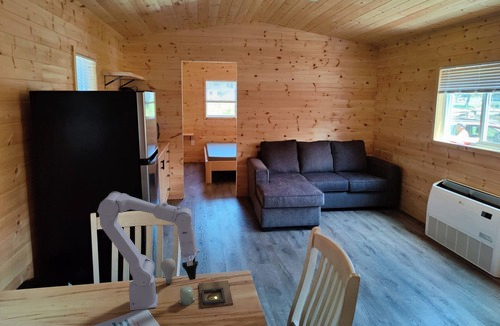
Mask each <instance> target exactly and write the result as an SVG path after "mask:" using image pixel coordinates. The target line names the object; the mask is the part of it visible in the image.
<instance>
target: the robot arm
mask: <svg viewBox="0 0 500 326" xmlns="http://www.w3.org/2000/svg"><path fill="white" fill-rule="evenodd" d="M129 210H133V211H137V212H142V213H143V212H144V213H148V214H152V215H153V216H154V217H155V219H158V220H162V221H165V222H168V223H169V222H170V223H172V224H173V223H174V224H175V227H176V226H177V235H178V242H179V247H180V256H181V257H182V258H183V259H184V261H185V262H181V265H182V268H183V269H184V270H185V272H186V274H187V277H188V279H189V281H192V280H193V281H194V280H196V277H197V268H198V265H199V261H198V260H196V255H197V254H198V253H201V250H200V248H197V243H196V236H195V229H194V225H193V220H192V218H193V212H192V209H190V208H189V207H187V206H186V205H185V206H175V205H171V204H168V201H167V202H166V201H164V202H159V203H157V204H155V203H152V202H150V201H149V202H148V201H146V200H143V199H140V198H137V197H133V196H130V195H129V194H127V193H121V192H119V191H112V192H110V193H109V194H108V196H106V197H105V198H104V199H103V200H102V201H100V203H99V205H98V208H97V211H96V212H97V213H98V218H99V225H100V228H101V229H102V230H103V231H104V233H105V234H106V236H107V237H108V238H109V240H110V241H111V243H113V245H114V246H115V247H116V249H117V251H119V253H120V255H121V256H122V257H123V258H124V260H125V261H126V263H127V264H128V265H129V267H128V268H129V273H130V276H132V281H130V282H129V286H128V296H129V310H130V311H134V310H135V311H136V310H145V309H155V308H157V306H158V298H159V294H157V291H156V290H157V289H156V277H155V275H154V272H155V270H156V264H155V262H154V261H153V260H152V259H150V258H148V257H147V256H146V255H145V254H141V252H140V250H139V249H138V248H137V246H136V245H135V244H134V242H133V241H132V240H131V238H130V237H129V235H128V233H126V231H125V230H124V229H123V227H122V225H120V223H119V221H118V218H119V214H122V213H125V212H126V211H129Z"/></svg>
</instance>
